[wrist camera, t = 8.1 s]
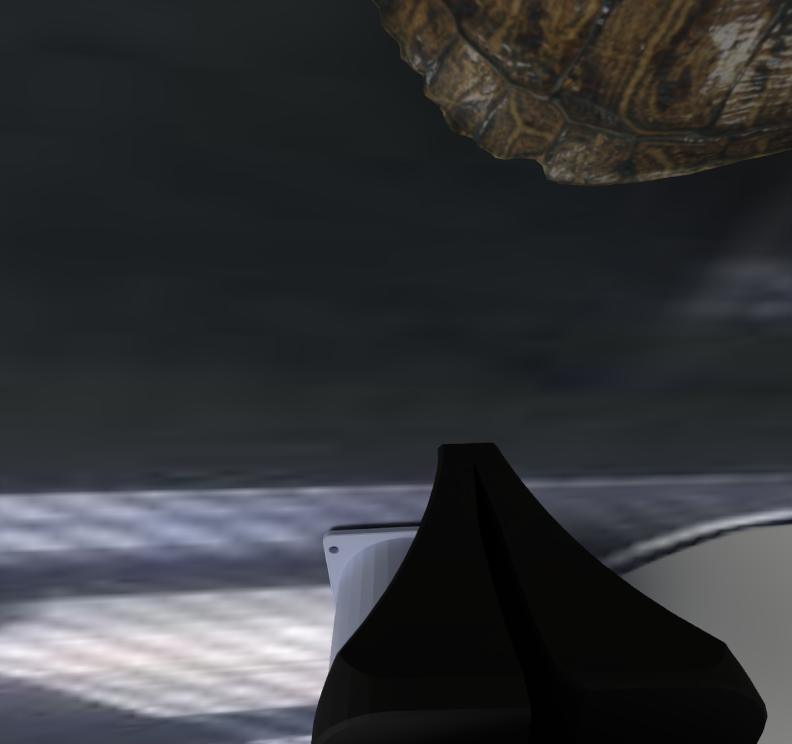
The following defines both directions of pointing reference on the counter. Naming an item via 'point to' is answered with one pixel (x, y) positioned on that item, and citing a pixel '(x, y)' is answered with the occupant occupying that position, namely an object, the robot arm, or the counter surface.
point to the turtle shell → (606, 80)
